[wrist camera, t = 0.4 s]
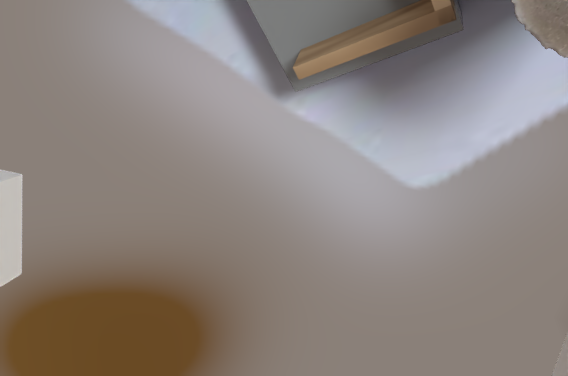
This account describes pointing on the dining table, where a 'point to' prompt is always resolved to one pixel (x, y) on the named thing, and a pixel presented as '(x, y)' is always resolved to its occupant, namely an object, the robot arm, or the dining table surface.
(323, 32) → the dock
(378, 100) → the dining table surface
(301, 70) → the bay walls
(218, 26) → the dining table surface
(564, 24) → the pillar candle
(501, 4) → the dining table surface
